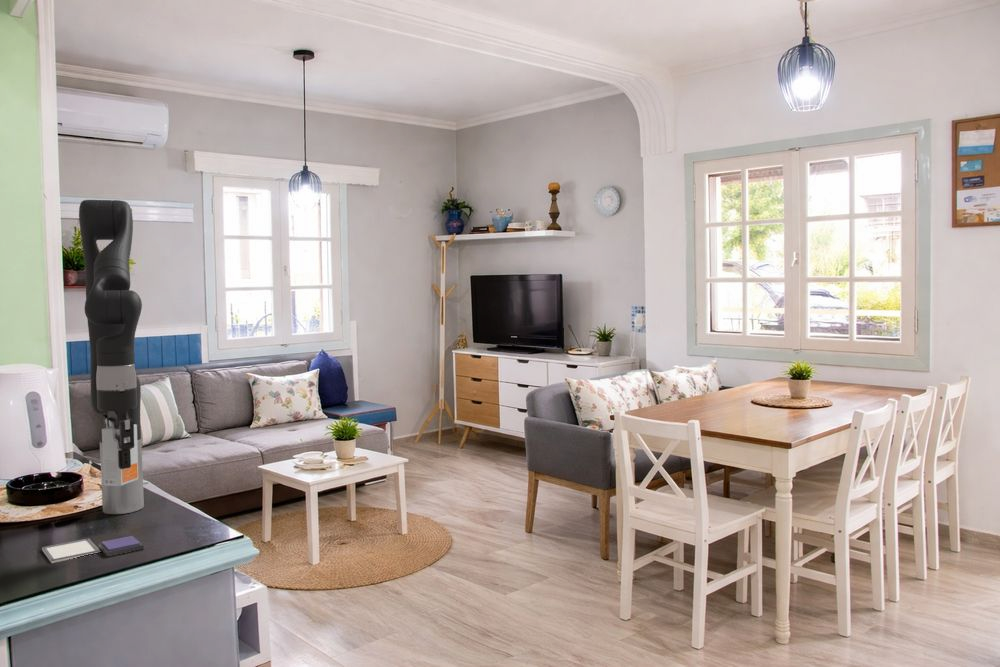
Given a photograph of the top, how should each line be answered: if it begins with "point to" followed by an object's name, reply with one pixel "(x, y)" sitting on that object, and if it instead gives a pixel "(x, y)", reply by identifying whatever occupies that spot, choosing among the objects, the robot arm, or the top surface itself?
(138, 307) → the robot arm
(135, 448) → the skincare box
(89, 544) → the framed whiteboard
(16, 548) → the top surface
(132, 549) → the ink pad
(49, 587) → the top surface
